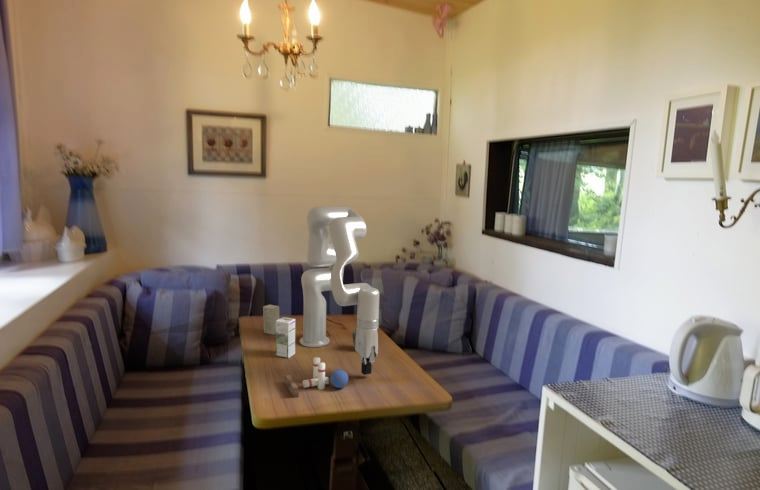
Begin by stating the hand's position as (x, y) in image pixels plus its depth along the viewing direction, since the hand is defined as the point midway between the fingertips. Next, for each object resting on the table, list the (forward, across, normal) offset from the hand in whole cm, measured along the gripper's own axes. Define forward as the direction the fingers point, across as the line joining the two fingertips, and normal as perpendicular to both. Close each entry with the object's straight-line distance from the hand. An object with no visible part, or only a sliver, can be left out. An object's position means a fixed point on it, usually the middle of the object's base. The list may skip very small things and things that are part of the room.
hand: (366, 373), depth 169 cm
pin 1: (+2, -2, -18) cm, 18 cm away
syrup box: (+2, -31, -21) cm, 37 cm away
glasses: (+2, -55, +5) cm, 55 cm away
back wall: (+2, 0, -27) cm, 27 cm away
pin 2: (+2, +2, -18) cm, 18 cm away
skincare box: (+2, -60, -20) cm, 63 cm away
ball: (-2, +4, -12) cm, 12 cm away
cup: (+2, -26, +9) cm, 28 cm away
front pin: (0, 0, -14) cm, 14 cm away
